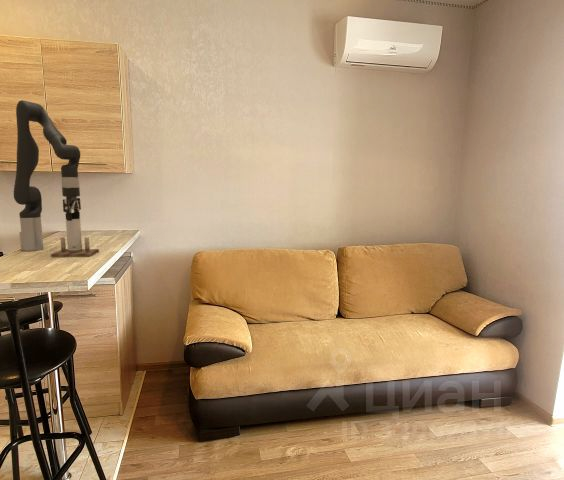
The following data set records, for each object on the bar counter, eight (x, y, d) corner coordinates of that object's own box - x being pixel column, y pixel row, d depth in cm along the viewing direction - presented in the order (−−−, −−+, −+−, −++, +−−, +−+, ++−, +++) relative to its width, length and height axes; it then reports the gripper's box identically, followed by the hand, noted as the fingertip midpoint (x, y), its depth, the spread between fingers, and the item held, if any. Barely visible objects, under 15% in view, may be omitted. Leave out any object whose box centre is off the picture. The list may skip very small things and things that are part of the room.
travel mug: (76, 253, 184) (74, 212, 181) (65, 252, 186) (62, 212, 182) (85, 250, 190) (83, 211, 187) (74, 249, 192) (71, 210, 188)
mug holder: (51, 257, 181) (49, 239, 180) (62, 252, 193) (61, 235, 192) (90, 256, 183) (88, 239, 182) (99, 251, 195) (97, 235, 194)
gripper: (69, 186, 189) (71, 218, 192) (55, 187, 175) (58, 221, 178) (84, 186, 190) (86, 218, 193) (72, 187, 176) (75, 221, 179)
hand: (73, 219), depth 185 cm, fingers open, 8 cm apart
